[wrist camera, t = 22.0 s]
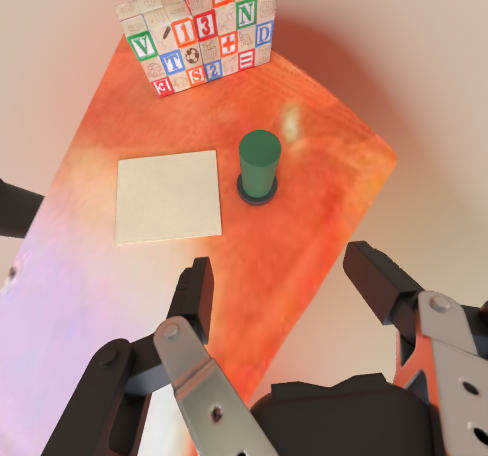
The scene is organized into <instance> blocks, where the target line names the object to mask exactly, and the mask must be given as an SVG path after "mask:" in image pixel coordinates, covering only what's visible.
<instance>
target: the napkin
mask: <svg viewBox="0 0 488 456" xmlns="http://www.w3.org/2000/svg"><path fill="white" fill-rule="evenodd" d="M212 235H222V230H221V216H220V202H219V188H218V174H217V161H216V150H211V151H201V152H191V153H182V154H172V155H163V156H153V157H144V158H134V159H125V160H119V163H118V185H117V207H116V229H115V245H121V244H131V243H141V242H151V241H161V240H171V239H181V238H191V237H202V236H212Z"/></svg>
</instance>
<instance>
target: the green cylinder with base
mask: <svg viewBox="0 0 488 456" xmlns="http://www.w3.org/2000/svg"><path fill="white" fill-rule="evenodd" d="M239 154H240V165H241V174H240V175H239V177H238V180H237V188H238V193H239V196H240V197H241V199H242V200H243V201H244V202H246V203H248V204H250V205H253V206H260V205H264V204H266V203H268V202H269V201H271V200H272V198H273V197H274V195H275V193H276V190H277V179H276V176H275V173H276V169H277V165H278V161H279V158H280V154H281V144H280V141H279V140H278V138H277V137H276V136H275V135H274V134H272V133H271V132H269V131H265V130H256V131H252V132H250V133H248V134H247V135H246V136H244V138H243V139H242V140H241V142H240V146H239Z"/></svg>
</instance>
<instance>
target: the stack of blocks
mask: <svg viewBox="0 0 488 456" xmlns="http://www.w3.org/2000/svg"><path fill="white" fill-rule="evenodd" d="M115 8H116V11H117V14H118V17H119V20H120V22H121V25H122V28H123V31H124V34H125V37H126V39H127V41H128V43H129V45H130V46H131V48H132V50H133V52H134V54H135V56H136V57H137V59H138V61H139V62H140V64H141V66H142V68H143V70H144V72H145V74H146V76H147V78H148V80H149V81H150V83H151V85H152V87H153V89H154V91H155V93H156V95H157V96H158V98H160V97H163V96H166V95H168V94H171V93H174V92H179V91H182V90H185V89H188V88H190V87H194V86H197V85H200V84H203V83H206V82H208V81H211V80H214V79H217V78H220V77H222V76H226V75H229V74H232V73H235V72H238V71H242V70H245V69H248V68H251V67H254V66H258V65H261V64H264V63H267V62H269V61H270V54H271V43H272V42H271V41H272V33H273V25H274V24H273V23H274V18H275V10H276V0H133V1H130V2H126V3H123V4H120V5H116V6H115Z"/></svg>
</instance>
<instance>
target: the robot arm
mask: <svg viewBox="0 0 488 456" xmlns="http://www.w3.org/2000/svg"><path fill="white" fill-rule="evenodd" d="M343 268H344V271H345V273H346V275H347V276H348V277H349V279H350V280H351V282H352V283H353V284H354V286H355V287H356V288H357V290H358V291H359V292H360V294H361V295H362V297H363V298H364V299H365V301H366V302H367V304H368V305H369V307H370V308H371V309H372V311H373V312H374V313H375V315H376V316H377V318H378V319H379V320H380V321H381V323H382V324H383V325H389V324H390V325H391V324H394V325H395V327H396V328H397V329H398V330H397V332H396V374H395V377H394V380H393V384H391V383H388V382H387V381H386V379H385V378H384V376H383V374H382V373H375V374H364V375H356V376H353V377H351V378H349V379H347V380H345V381H343V382H341V383H339V384H337V385H335V386H333V387H323V386H318V385H314V384H309V383H304V382H299V381H298V382H287V383H278V384H271V393H269V394H267V395H265V396H264V397H262V398H261V399H260V400H258V401H257V402H256V403H255V404H254V405H253V407H252V408H251V409H250V410H248V408H247V407H246V405H245V404H244V402H243V401H242V399H241V398H240V396H239V394H238V393H237V391H236V390H235V388H234V387H233V385H232V384H231V382H230V381H229V379H228V378H227V376H226V375H225V373H224V372H223V370H222V369H221V367H220V366H219V364H218V363H217V361H216V360H215V359H214V358H212V357H211V356H210V355H209V353H208V352H207V350H206V349H205V347H204V344H208V339H209V330H210V320H211V310H212V301H213V291H214V277H213V272H212V268H211V264H210V259H209V257H199V258H195V259H194V263H193V267H191V268H186V269H185V270H184V271H183V272H182V274H181V275H180V278H179V281H178V285H177V287H176V291H175V293H174V296H173V299H172V302H171V305H170V309H169V312H168V315H167V318H166V320H165V321H163V322H162V323H161V324H160V325H159V326H158V328H157V329H156V331H155V332H154V333H153V334H151V335H149V336H147V337H144V338H142V339H140V340H137V341H135V342H132V343H129V341H128V340H126V339H122V338H121V339H115V340H112V341H110V342H108V343H107V344H105V345H104V346H103V347H101V348H100V349H99V350H98V351H97V352H96V353H95V355H94V356H93V357H92V359H91V361H90V362H89V364H88V366H87V368H86V370H85V372H84V374H83V376H82V378H81V380H80V381H79V383H78V385H77V387H76V389H75V391H74V393H73V395H72V397H71V399H70V401H69V402H68V404H67V406H66V408H65V410H64V412H63V414H62V416H61V418H60V420H59V422H58V423H57V425H56V427H55V429H54V431H53V433H52V435H51V437H50V439H49V441H48V443H47V444H46V446H45V448H44V450H43V452H42V454H41V456H137V454H138V450H139V446H140V442H141V437H142V433H143V429H144V425H145V421H146V417H147V412H148V408H149V404H150V400H151V396H152V392H154V391H156V390H158V389H160V388H162V387H164V386H166V385H168V384H170V383H171V385H172V387H173V390H174V396H175V399H176V402H177V404H178V407H179V409H180V411H181V414H182V416H183V419H184V421H185V423H186V426H187V428H188V431H189V433H190V435H191V438H192V440H193V443H194V445H195V448H196V450H197V452H198V455H199V456H488V301H487V302H485V304H484V305H483V306H482V307H481V308H477V307H472V306H465V305H459V304H458V303H457V302H456V301H454V300H453V299H451V298H450V297H447V296H446V295H443V294H441V293H438V292H434V291H426V290H424V289H423V288H422V287H421V286H420V285H419V284H418V283H417V282H416V281H415V280H413V279H412V278H411V277H410V276H409V275H408V274H407V273H406V272H404V271H403V270H402V269H401V268H399V266H398V265H397V264H396V263H395V262H393V261H392V260H391V259H390V258H389V257H388V256H387V255H386V254H384V253H382V252H381V251H379V250H377V249H373V248H372V247H371V246H370V245H369V244H368V243H367V242H365V241H355V242H349V243H348V245H347V249H346V253H345V257H344V261H343Z"/></svg>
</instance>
